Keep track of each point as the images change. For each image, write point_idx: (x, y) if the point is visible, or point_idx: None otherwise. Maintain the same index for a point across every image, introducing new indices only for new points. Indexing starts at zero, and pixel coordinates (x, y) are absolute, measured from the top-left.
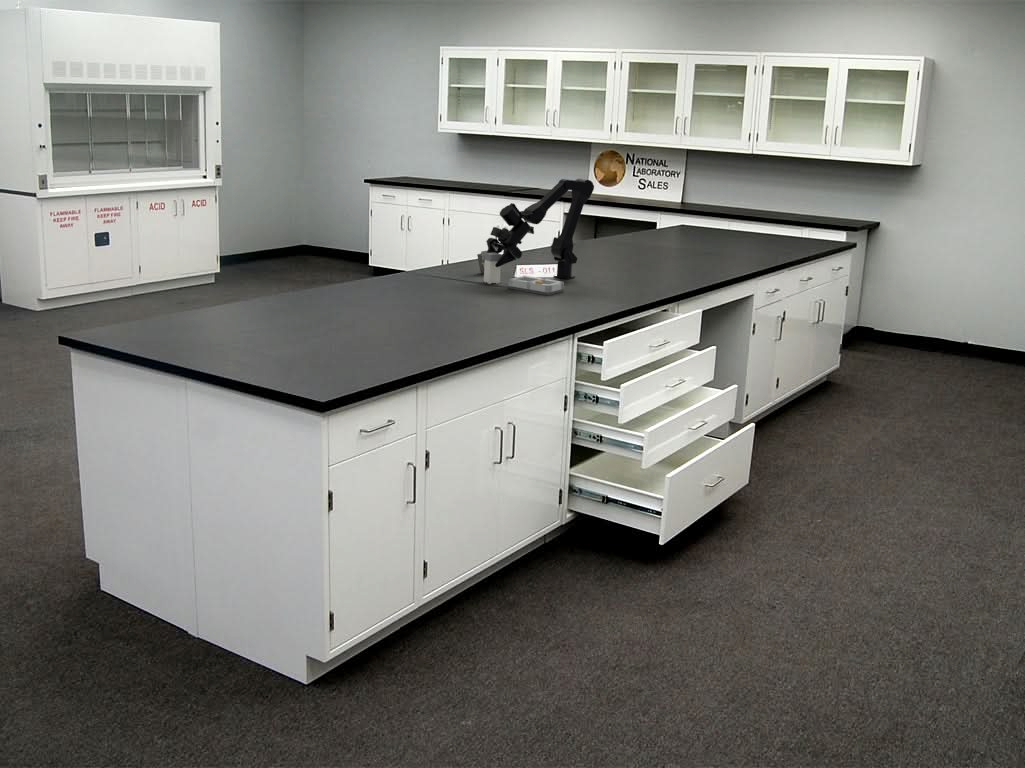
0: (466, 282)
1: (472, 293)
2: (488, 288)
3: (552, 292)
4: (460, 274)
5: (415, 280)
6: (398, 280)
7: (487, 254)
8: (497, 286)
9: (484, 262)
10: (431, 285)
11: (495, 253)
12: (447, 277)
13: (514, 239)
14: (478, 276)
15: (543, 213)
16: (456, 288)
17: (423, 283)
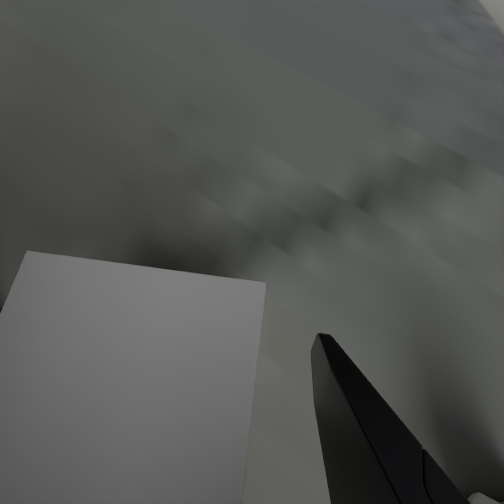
0: (273, 211)
1: (50, 92)
2: (86, 215)
3: None
4: (499, 320)
5: (394, 62)
6: (411, 20)
7: (159, 269)
8: None
9: (314, 345)
10: (278, 57)
11: (97, 500)
12: (426, 205)
13: None
14: (413, 390)
15: None
16: (175, 98)
17: (327, 55)
